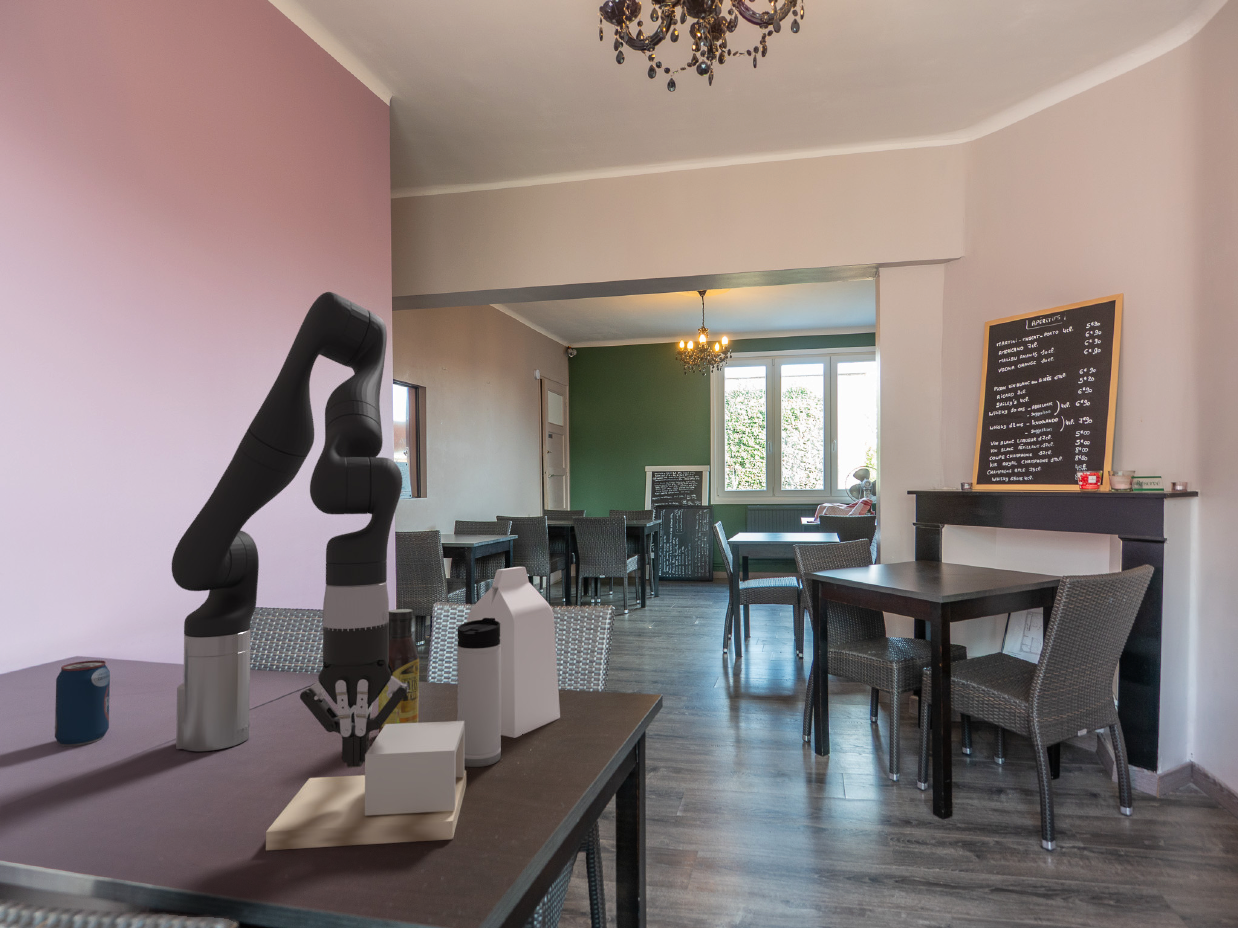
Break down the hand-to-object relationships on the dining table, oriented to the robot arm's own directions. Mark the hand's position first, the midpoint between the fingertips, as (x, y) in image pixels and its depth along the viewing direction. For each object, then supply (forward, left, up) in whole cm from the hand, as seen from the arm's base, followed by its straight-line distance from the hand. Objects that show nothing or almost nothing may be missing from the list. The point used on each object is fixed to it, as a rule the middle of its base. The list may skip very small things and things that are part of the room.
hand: (355, 764), depth 87 cm
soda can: (-51, +34, -6) cm, 61 cm away
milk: (+17, +34, -6) cm, 39 cm away
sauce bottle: (-1, +30, -6) cm, 31 cm away
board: (+2, 0, -6) cm, 7 cm away
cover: (+7, 0, -4) cm, 8 cm away
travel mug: (+13, +17, -6) cm, 23 cm away
